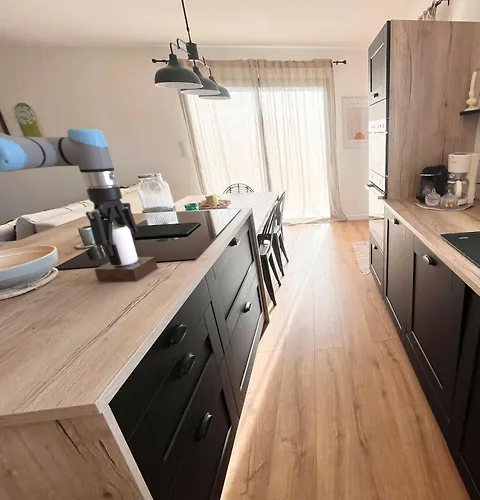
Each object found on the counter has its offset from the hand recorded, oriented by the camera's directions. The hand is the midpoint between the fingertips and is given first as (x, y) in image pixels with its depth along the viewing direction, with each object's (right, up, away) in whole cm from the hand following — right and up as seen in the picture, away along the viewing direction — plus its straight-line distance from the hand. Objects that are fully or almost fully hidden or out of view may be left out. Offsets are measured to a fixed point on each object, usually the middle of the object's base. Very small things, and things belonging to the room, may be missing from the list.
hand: (125, 260), depth 91 cm
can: (0, -1, 0) cm, 1 cm away
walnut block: (0, -5, +2) cm, 5 cm away
